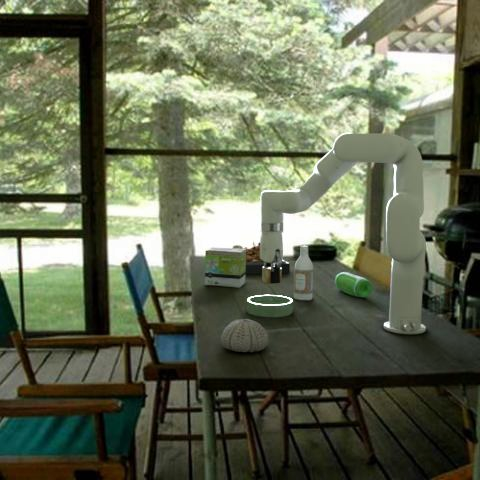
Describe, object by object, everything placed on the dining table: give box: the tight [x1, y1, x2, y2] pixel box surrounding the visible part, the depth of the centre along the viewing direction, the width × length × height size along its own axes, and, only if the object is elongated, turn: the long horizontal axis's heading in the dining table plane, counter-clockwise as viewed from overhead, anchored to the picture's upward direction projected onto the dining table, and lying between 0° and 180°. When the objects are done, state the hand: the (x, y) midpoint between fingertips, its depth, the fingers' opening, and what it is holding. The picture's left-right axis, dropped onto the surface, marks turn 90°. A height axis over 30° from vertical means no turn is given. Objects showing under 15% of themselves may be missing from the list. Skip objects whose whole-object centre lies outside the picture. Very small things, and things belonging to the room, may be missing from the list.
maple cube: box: [261, 266, 283, 285], centre depth 208 cm, size 5×5×5 cm
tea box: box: [204, 246, 246, 289], centre depth 256 cm, size 15×10×15 cm, turn 76°
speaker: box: [334, 271, 373, 299], centre depth 241 cm, size 18×7×8 cm, turn 21°
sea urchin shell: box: [220, 318, 271, 353], centre depth 170 cm, size 13×14×8 cm
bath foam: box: [293, 245, 314, 301], centre depth 230 cm, size 7×7×20 cm
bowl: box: [246, 294, 294, 318], centre depth 210 cm, size 15×15×4 cm
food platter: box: [232, 241, 291, 275], centre depth 303 cm, size 45×25×10 cm, turn 12°
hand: (271, 281), depth 209 cm, fingers closed on maple cube, 5 cm apart
